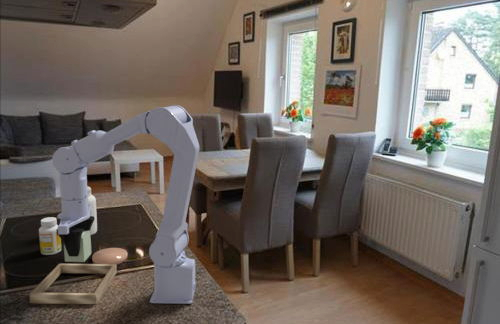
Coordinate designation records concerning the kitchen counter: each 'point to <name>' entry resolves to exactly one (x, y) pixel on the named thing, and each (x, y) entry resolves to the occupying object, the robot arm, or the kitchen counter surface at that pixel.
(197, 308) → the kitchen counter surface
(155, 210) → the kitchen counter surface
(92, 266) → the crate frame
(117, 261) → the coaster
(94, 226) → the pill bottle
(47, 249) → the supplement bottle
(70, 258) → the block
